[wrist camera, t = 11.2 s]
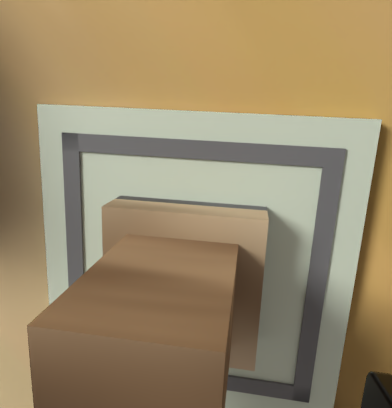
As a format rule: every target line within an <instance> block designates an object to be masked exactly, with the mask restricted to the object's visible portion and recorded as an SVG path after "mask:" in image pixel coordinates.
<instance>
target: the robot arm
mask: <svg viewBox="0 0 392 408" xmlns="http://www.w3.org/2000/svg"><path fill="white" fill-rule="evenodd" d="M361 408H392V375H391V374H388V373H380V372H373V371H371V372H369V373H368V375H367V378H366V383H365V388H364V393H363V398H362V404H361Z"/></svg>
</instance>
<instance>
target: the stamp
mask: <svg viewBox="0 0 392 408" xmlns="http://www.w3.org/2000/svg"><path fill="white" fill-rule="evenodd" d="M268 224H269V218H268V211H267V207H263V206H250V205H237V204H224V203H211V202H198V201H185V200H172V199H159V198H146V197H133V196H119V197H117V198H115V199H114V200H112V201H110V202H109V203H107V204H105V205H103V206H102V248H103V256H102V257H101V258H100V259H99V260H98V261H97V262H96V263H95V264H94V265H93V266H92V267H90V268H89V269H88V270H87V271H86V272H85V273H84V274H83V275H82V276H81V277H80V278H78V279H77V280H76V281H75V282H74V283H73V284H72V285H71V286H70V287H69V288H68V289H67V290H65V291H64V292H63V293H62V294H61V295H60V296H59V297H58V298H57V299H56V300H55V301H53V302H52V303H51V304H50V305H49V306H48V307H47V308H46V309H45V310H44V311H43V312H41V313H40V314H39V315H38V316H37V317H36V318H35V319H34V320H33V321H32V322H31V323H30V324H28V325H27V332H28V344H29V356H30V368H31V380H32V392H33V403H34V408H225V402H226V392H227V382H228V372H229V368H235V369H243V370H250V371H255V362H256V352H257V341H258V330H259V320H260V309H261V298H262V288H263V277H264V267H265V256H266V245H267V235H268Z"/></svg>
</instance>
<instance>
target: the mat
mask: <svg viewBox="0 0 392 408" xmlns="http://www.w3.org/2000/svg"><path fill="white" fill-rule="evenodd" d="M37 113H38V129H39V146H40V162H41V179H42V195H43V212H44V228H45V245H46V261H47V277H48V294H49V305H50V304H51V303H52V302H53V301H55V300H56V299H57V298H58V297H59V296H60V295H61V294H62V293H63V292H64V291H65V290H67V289H68V288H69V287H70V286H71V285H72V284H73V283H74V282H75V281H76V280H77V279H78V278H80V277H81V276H82V275H83V274H84V273H85V272H86V271H87V270H88V269H89V268H90V267H92V266H93V265H94V264H95V263H96V262H97V261H98V260H99V259H100V258H101V257H102V256H103V248H102V206H103V205H105V204H107V203H109V202H110V201H112V200H114V199H115V198H117V197H119V196H133V197H146V198H159V199H172V200H185V201H198V202H211V203H224V204H237V205H250V206H263V207H267V211H268V218H269V224H268V235H267V245H266V256H265V267H264V277H263V288H262V298H261V309H260V320H259V330H258V341H257V352H256V362H255V371H250V370H243V369H235V368H229V372H228V382H227V392H226V402H225V408H334V402H335V396H336V390H337V384H338V378H339V372H340V366H341V360H342V354H343V348H344V342H345V336H346V330H347V324H348V318H349V312H350V306H351V301H352V295H353V289H354V283H355V277H356V271H357V265H358V259H359V253H360V247H361V241H362V235H363V229H364V223H365V217H366V211H367V205H368V199H369V193H370V187H371V181H372V175H373V169H374V163H375V157H376V151H377V145H378V139H379V133H380V128H381V122H382V120H380V119H358V118H336V117H314V116H292V115H270V114H248V113H226V112H204V111H181V110H159V109H137V108H115V107H93V106H71V105H49V104H37Z"/></svg>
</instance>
